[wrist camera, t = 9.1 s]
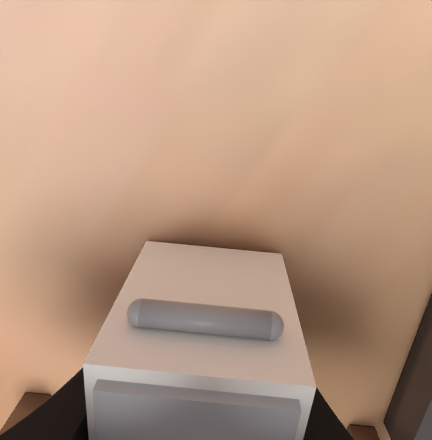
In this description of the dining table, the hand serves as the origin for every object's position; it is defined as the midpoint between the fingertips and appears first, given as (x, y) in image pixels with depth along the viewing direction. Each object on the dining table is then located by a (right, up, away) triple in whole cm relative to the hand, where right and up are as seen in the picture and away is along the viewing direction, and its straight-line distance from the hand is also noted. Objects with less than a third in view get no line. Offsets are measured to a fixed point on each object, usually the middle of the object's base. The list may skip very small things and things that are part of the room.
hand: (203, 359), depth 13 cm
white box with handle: (0, 0, +2) cm, 2 cm away
